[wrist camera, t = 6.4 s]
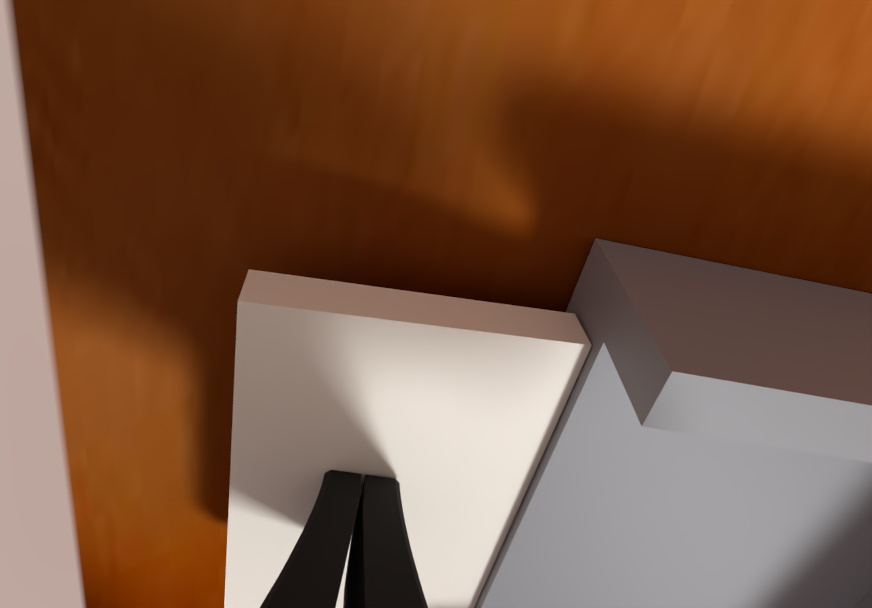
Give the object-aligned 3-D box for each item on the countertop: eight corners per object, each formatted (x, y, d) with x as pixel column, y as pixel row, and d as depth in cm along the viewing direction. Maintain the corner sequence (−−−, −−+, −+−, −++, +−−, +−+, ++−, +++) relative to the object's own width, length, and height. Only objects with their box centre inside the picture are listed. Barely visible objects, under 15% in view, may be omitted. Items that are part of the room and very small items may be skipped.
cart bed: (450, 596, 17) (461, 872, 12) (595, 238, 11) (744, 496, 6) (754, 629, 18) (880, 892, 13) (1039, 327, 12) (1480, 602, 7)
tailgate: (456, 579, 16) (234, 571, 15) (568, 302, 11) (252, 257, 10) (463, 630, 15) (223, 626, 14) (591, 344, 10) (237, 301, 9)
